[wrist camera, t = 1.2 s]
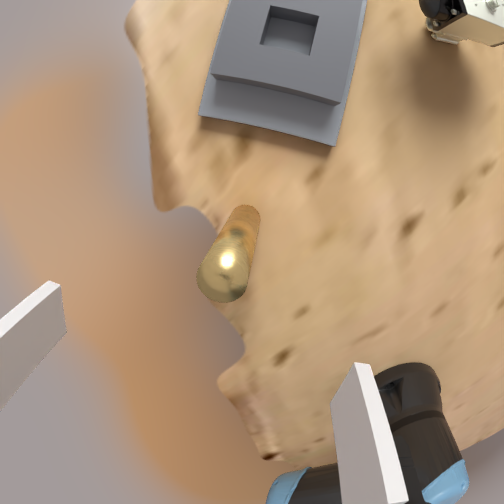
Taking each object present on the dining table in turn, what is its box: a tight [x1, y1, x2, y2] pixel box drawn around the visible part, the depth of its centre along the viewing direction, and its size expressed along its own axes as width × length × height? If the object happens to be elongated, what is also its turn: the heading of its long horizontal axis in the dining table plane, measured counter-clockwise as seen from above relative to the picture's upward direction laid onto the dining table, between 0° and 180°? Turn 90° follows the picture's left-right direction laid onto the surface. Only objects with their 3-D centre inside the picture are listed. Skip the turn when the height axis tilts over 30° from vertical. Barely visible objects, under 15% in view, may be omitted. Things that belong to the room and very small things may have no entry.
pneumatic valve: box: [419, 0, 504, 47], centre depth 16 cm, size 6×12×12 cm, turn 96°
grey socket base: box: [198, 0, 367, 147], centre depth 23 cm, size 20×14×4 cm
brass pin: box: [196, 205, 260, 303], centre depth 26 cm, size 3×3×15 cm
